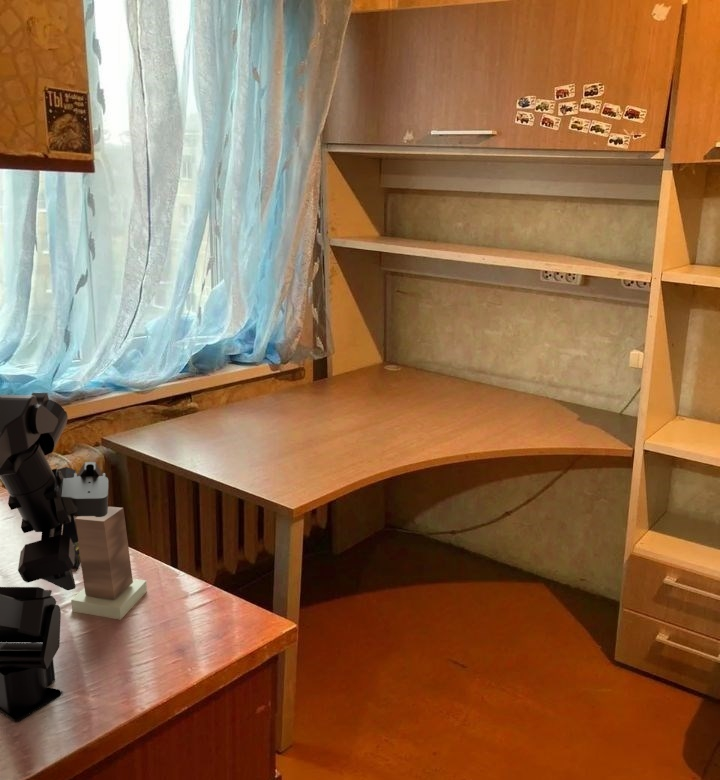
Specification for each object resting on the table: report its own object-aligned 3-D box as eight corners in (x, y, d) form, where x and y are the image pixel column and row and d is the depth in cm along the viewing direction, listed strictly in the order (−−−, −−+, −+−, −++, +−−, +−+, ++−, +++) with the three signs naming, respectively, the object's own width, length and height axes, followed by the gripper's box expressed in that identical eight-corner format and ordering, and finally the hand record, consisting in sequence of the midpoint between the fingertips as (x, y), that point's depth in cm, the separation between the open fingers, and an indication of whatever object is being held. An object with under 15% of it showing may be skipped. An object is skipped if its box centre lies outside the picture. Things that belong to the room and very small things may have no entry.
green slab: (120, 620, 114) (119, 608, 113) (72, 611, 115) (71, 599, 115) (146, 591, 121) (146, 580, 121) (100, 584, 123) (100, 572, 122)
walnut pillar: (114, 598, 114) (103, 521, 111) (85, 595, 116) (74, 518, 113) (133, 582, 119) (123, 507, 116) (105, 579, 121) (94, 505, 117)
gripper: (91, 509, 91) (132, 596, 100) (95, 422, 106) (130, 505, 115) (-5, 536, 89) (45, 622, 98) (13, 444, 105) (55, 526, 113)
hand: (73, 564), depth 106 cm, fingers open, 9 cm apart
